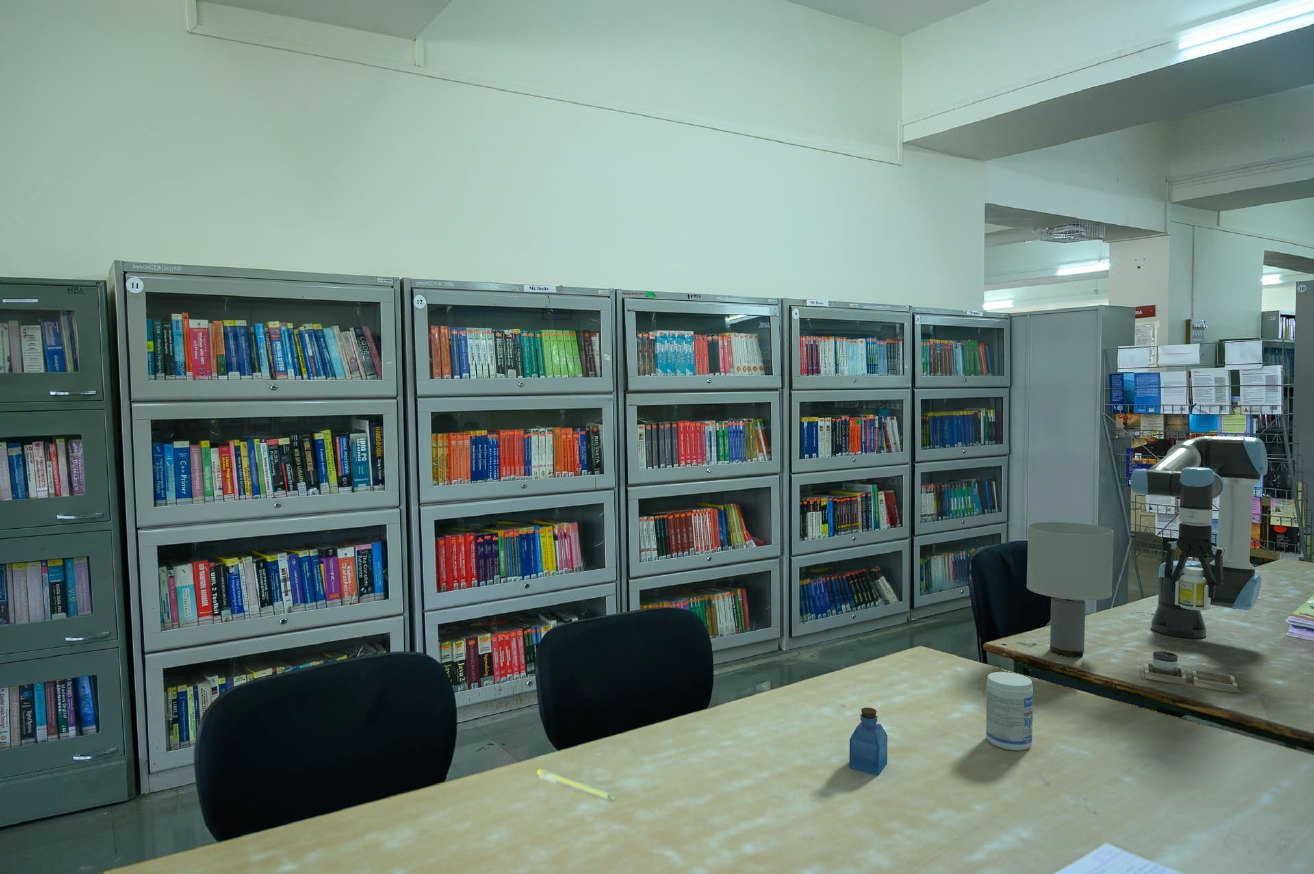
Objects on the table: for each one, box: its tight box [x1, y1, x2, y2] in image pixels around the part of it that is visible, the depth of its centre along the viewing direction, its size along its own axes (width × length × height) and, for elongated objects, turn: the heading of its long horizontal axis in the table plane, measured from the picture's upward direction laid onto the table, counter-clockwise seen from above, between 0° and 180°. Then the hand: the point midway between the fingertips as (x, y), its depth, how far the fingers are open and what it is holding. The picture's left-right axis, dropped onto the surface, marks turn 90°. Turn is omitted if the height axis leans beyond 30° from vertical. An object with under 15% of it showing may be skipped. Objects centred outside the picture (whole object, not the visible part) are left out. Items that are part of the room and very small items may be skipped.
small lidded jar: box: [1152, 650, 1179, 676], centre depth 214 cm, size 6×6×6 cm
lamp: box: [1026, 521, 1115, 658], centre depth 237 cm, size 23×23×38 cm
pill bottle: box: [1179, 567, 1207, 611], centre depth 218 cm, size 6×6×11 cm
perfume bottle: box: [848, 707, 888, 777], centre depth 166 cm, size 6×6×12 cm
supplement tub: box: [985, 671, 1034, 751], centre depth 177 cm, size 10×10×15 cm
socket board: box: [1140, 662, 1243, 695], centre depth 212 cm, size 11×22×3 cm, turn 59°
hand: (1192, 606), depth 218 cm, fingers closed on pill bottle, 6 cm apart
